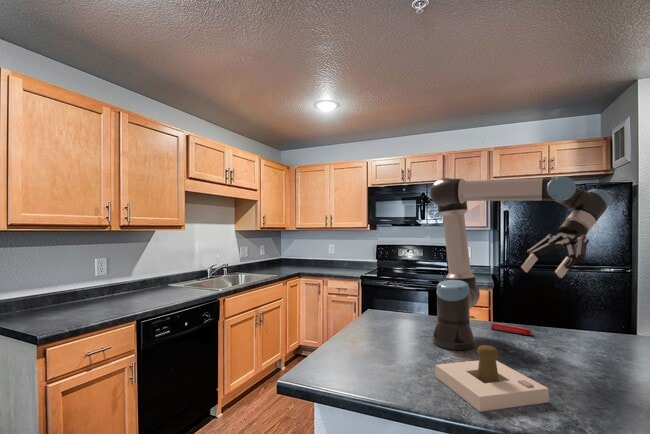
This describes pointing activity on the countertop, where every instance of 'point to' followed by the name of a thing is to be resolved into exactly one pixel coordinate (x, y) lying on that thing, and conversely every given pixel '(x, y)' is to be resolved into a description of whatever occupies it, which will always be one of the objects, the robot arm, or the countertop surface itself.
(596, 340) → the countertop surface
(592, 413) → the countertop surface
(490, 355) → the cork
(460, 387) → the socket block
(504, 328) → the red rounded rod
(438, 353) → the countertop surface
